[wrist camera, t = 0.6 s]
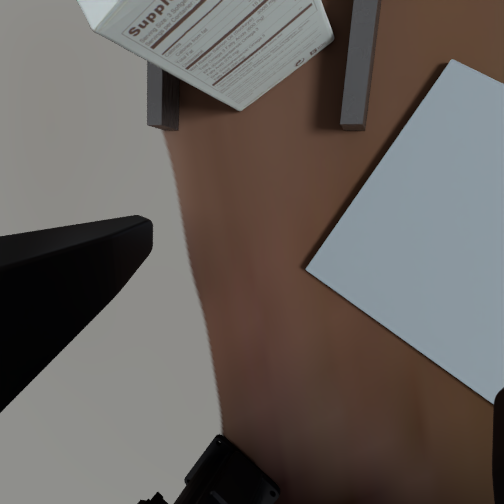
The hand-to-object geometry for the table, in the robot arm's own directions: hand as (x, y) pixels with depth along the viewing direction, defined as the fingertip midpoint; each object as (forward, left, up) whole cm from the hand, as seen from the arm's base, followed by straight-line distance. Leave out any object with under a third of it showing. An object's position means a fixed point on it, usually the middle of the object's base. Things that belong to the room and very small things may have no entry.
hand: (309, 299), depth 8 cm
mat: (+3, -6, -14) cm, 16 cm away
